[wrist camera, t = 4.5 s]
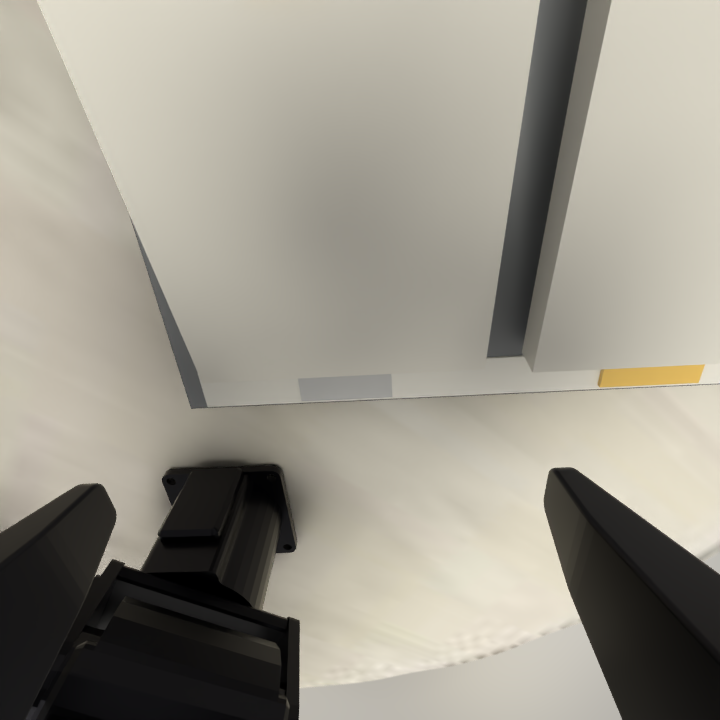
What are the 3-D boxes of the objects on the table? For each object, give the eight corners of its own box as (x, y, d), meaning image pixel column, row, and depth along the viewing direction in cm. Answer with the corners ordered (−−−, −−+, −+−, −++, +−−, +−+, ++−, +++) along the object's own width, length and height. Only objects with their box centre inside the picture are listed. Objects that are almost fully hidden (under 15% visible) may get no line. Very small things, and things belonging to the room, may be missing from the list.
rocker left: (477, 347, 15) (485, 371, 14) (211, 361, 16) (200, 386, 15) (544, -164, 8) (572, -192, 7) (28, -101, 8) (-20, -117, 7)
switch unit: (755, 344, 18) (846, 394, 15) (215, 372, 20) (181, 423, 16) (960, -147, 11) (1224, -275, 8) (100, -50, 13) (-3, -120, 9)
